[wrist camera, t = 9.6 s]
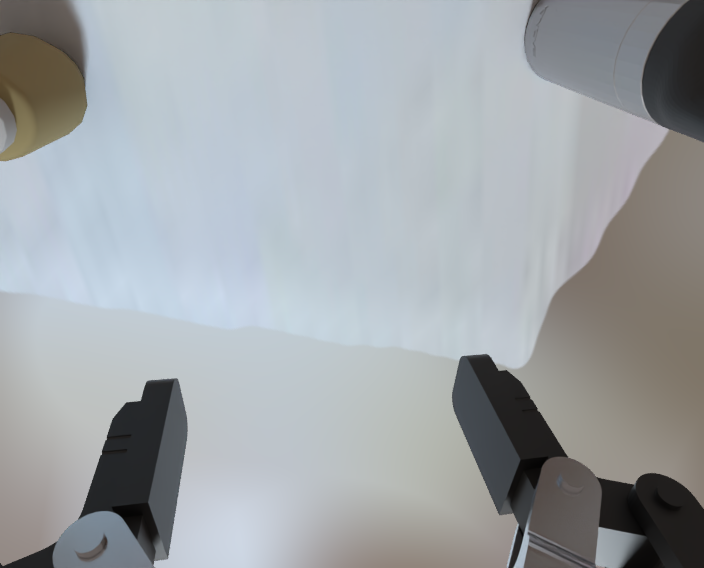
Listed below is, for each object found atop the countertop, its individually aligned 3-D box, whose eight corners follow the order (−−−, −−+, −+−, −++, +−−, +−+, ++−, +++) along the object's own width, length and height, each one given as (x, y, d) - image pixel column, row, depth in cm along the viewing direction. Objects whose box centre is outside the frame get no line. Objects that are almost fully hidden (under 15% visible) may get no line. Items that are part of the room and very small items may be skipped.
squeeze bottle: (21, 3, 38) (-132, 27, 23) (117, 76, 42) (38, 135, 27) (-22, 83, 40) (-185, 150, 26) (72, 144, 44) (-22, 233, 30)
